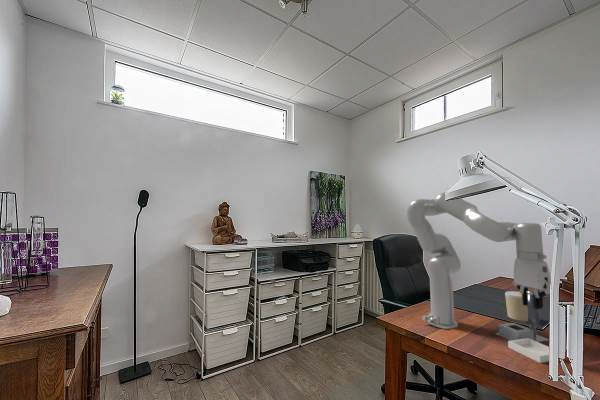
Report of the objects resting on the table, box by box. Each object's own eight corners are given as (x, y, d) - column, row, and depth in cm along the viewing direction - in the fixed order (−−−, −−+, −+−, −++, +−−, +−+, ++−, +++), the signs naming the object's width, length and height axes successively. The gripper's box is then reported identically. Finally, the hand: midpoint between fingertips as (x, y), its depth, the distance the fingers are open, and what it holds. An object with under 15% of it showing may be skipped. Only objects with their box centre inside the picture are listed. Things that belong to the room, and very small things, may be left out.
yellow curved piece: (515, 294, 124) (515, 290, 124) (523, 294, 123) (523, 291, 123) (528, 303, 111) (528, 299, 111) (537, 304, 110) (537, 300, 110)
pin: (535, 326, 95) (533, 293, 96) (526, 323, 98) (523, 290, 99) (542, 325, 96) (539, 292, 97) (532, 322, 99) (530, 289, 100)
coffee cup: (518, 314, 134) (517, 290, 135) (535, 322, 125) (534, 296, 126) (501, 315, 134) (500, 291, 135) (516, 322, 125) (515, 297, 125)
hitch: (519, 346, 103) (517, 310, 104) (494, 334, 113) (493, 302, 113) (550, 341, 107) (548, 306, 107) (524, 330, 116) (522, 299, 117)
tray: (540, 364, 90) (540, 356, 91) (508, 348, 101) (508, 341, 101) (562, 360, 93) (561, 352, 93) (528, 345, 103) (528, 338, 104)
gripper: (563, 259, 92) (567, 313, 90) (515, 252, 107) (517, 298, 106) (547, 260, 90) (550, 315, 89) (500, 253, 106) (502, 300, 105)
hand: (532, 306), depth 98 cm, fingers closed on pin, 3 cm apart
